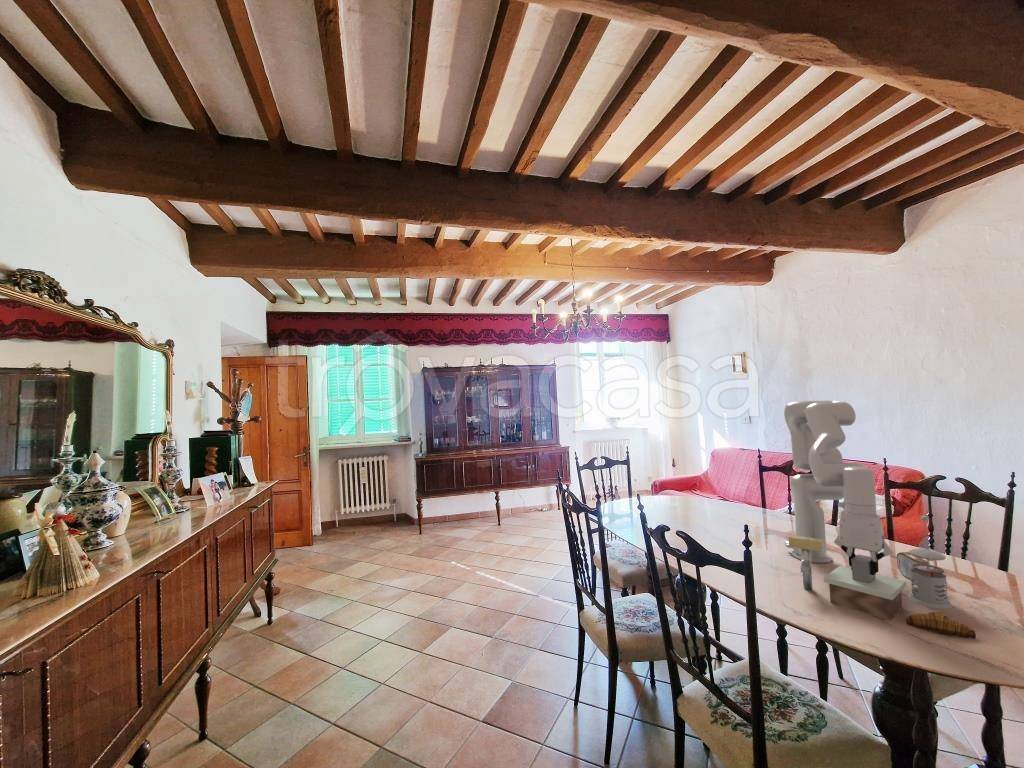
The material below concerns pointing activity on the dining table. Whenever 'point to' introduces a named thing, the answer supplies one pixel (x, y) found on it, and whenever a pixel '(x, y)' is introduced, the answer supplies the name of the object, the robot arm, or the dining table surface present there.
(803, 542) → the key
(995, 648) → the dining table surface
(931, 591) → the french press
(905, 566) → the tin
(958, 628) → the croissant
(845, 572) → the cover
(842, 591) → the housing
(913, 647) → the dining table surface
